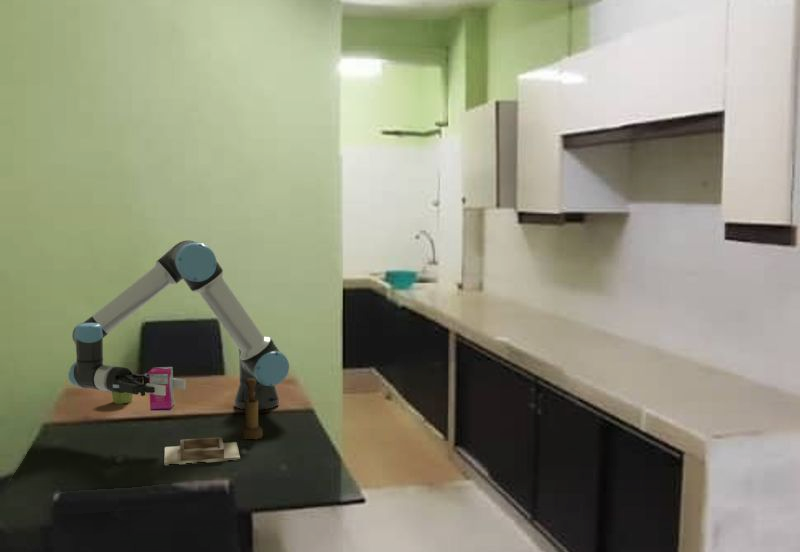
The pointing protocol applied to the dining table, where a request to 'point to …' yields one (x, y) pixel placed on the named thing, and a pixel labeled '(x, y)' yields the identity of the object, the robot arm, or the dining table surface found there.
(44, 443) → the dining table surface
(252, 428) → the brown tall column piece
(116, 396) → the plant pot
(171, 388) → the supplement box
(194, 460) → the dock
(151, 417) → the dining table surface
